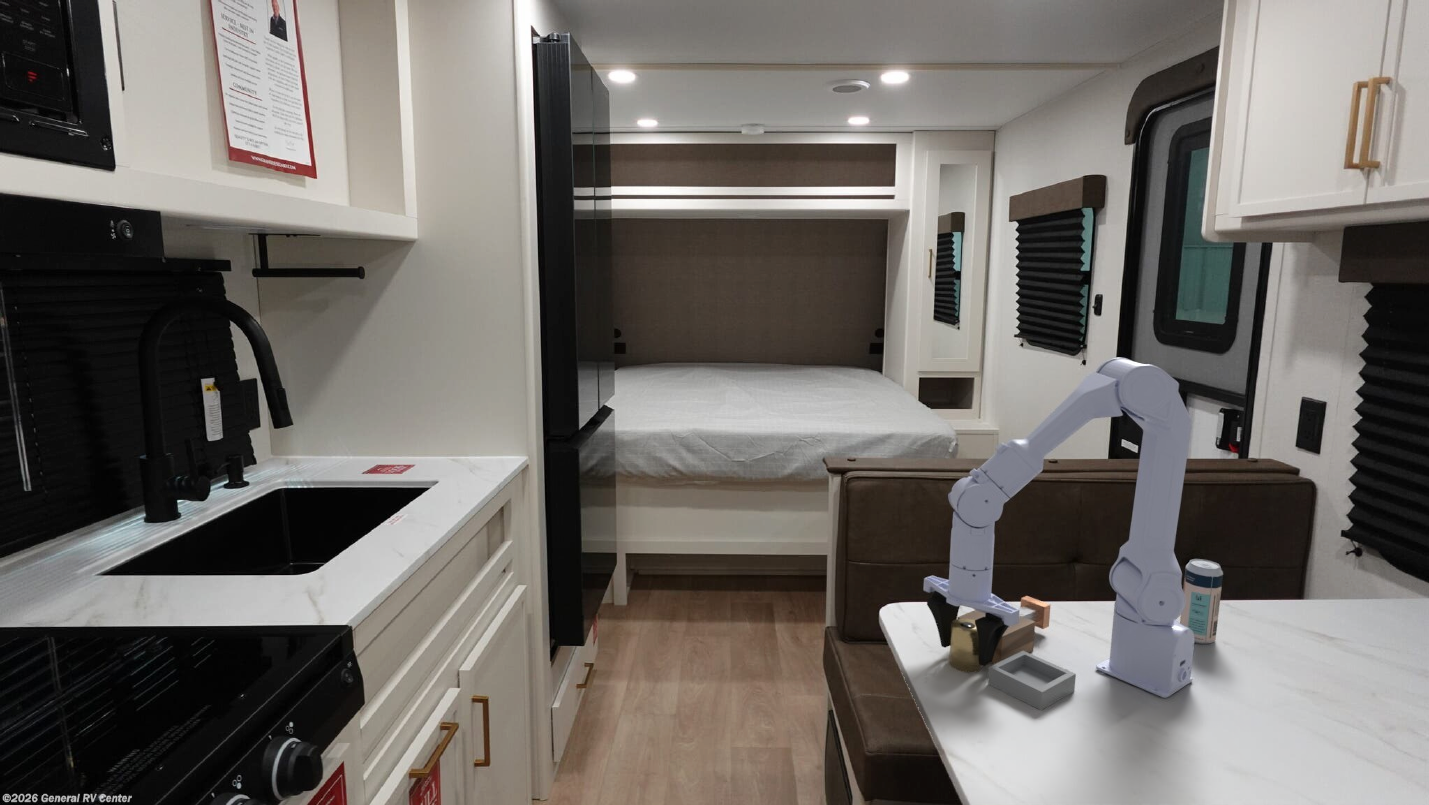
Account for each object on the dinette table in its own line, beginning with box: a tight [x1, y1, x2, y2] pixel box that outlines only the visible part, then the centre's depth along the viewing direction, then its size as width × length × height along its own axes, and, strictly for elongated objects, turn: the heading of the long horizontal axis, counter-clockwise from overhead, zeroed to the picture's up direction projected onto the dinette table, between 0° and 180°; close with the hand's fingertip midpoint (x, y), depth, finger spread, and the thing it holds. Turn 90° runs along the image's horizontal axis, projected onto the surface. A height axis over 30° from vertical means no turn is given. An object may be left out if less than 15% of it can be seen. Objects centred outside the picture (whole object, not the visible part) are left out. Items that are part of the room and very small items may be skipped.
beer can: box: [1179, 558, 1224, 645], centre depth 115 cm, size 5×5×12 cm
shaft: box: [1018, 595, 1051, 630], centre depth 116 cm, size 4×10×4 cm, turn 125°
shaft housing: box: [957, 609, 1036, 665], centre depth 113 cm, size 8×8×5 cm
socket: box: [987, 651, 1077, 711], centre depth 103 cm, size 8×8×2 cm
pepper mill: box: [948, 618, 983, 674], centre depth 108 cm, size 4×4×6 cm
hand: (966, 654), depth 109 cm, fingers open, 6 cm apart
